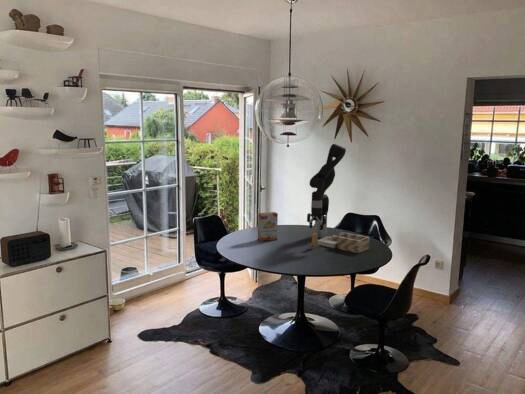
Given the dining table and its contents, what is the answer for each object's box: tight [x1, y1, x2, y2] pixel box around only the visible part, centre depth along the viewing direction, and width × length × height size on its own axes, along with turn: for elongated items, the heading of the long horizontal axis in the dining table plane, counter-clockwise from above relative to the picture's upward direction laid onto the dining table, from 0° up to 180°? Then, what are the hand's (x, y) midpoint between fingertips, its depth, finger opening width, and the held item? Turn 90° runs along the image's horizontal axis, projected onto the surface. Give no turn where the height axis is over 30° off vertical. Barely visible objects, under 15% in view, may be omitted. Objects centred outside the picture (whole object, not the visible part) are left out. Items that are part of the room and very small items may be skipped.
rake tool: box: [308, 232, 321, 251], centre depth 320 cm, size 4×8×10 cm, turn 141°
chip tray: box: [318, 235, 338, 249], centre depth 331 cm, size 15×16×3 cm
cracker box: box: [257, 211, 279, 242], centre depth 339 cm, size 14×6×21 cm, turn 112°
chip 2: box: [347, 233, 356, 239], centre depth 320 cm, size 4×4×4 cm
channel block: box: [331, 232, 371, 254], centre depth 321 cm, size 22×15×8 cm
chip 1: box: [338, 231, 348, 238], centre depth 324 cm, size 4×4×4 cm
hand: (316, 228), depth 318 cm, fingers open, 8 cm apart
